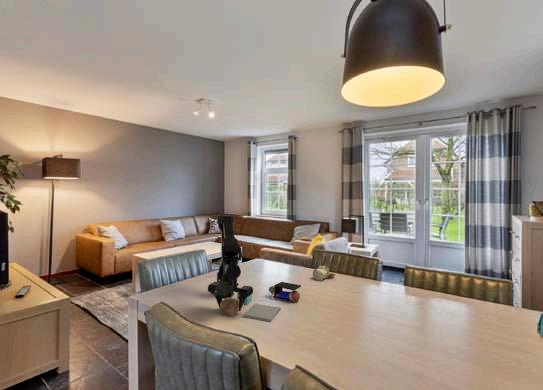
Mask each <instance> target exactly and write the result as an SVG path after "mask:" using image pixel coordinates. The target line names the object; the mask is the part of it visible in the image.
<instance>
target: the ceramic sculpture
mask: <svg viewBox="0 0 543 390" xmlns="http://www.w3.org/2000/svg"><path fill="white" fill-rule="evenodd" d="M335 275H336V273H332V272H330V269H329V268H328V267H327V266H325V265H324V264H322V263H321V265H319V266H318V267H317V268H315V269H313V271H312V277H313V279H314V280H316V281H318V282H321V281H323V280H325V279H328V278H334V277H335Z"/></svg>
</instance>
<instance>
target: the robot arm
mask: <svg viewBox="0 0 543 390" xmlns="http://www.w3.org/2000/svg"><path fill="white" fill-rule="evenodd" d="M235 218H236V217H235V216H234V215H232V214H219V215H218V216H216V224H217V228H218V230H219V231H220V235H221V236H220V237H221V239H220V240H221V242H220V243H221V245H220V246H221V247H220V253H221V254H220V255H221V263H220V265H219V267H218V268H217V269H218V271H217V272H216V281H213V282H211V283H210V284H209V285H207V292H208V293H210V294H211V295H213V296H214V297H215V299H216V303H217V305H218V307H219V309H220V302H222V301H223V299H226V298H227V297H228V298H232V296H234V295H235V293H239V295H240V296H239V297H238V298H239V312H241V311H242V308H243V306H244V305H243V304H244V302H245V299H246V298H247V297H249V296H250V295H251V294H252V295H253V294H254V288H253V287H252V286H251V285H250V286H249V285H242V286H241V287H238V286H239V283H238V279H239V278H240V276H241V272H242V270H241V268H240V265H239V264H238V261H242V258H243V252H242V251H243V250H242V247H241V245H240V244H239V241H238V239H237V237H235V231H234V225H235V220H236V219H235Z"/></svg>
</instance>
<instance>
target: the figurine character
mask: <svg viewBox="0 0 543 390" xmlns="http://www.w3.org/2000/svg"><path fill="white" fill-rule="evenodd" d="M301 287H302V285H300V284H296V283H290V282H285V281H280V282H278V283H276V284H274V285H271V286H269V287H268V292H269V294H271V295H274V296H273V298H275V299H276V298H282V299H287V300H288V299H289V300H290V301H291V302H293V303H297V302H298V301H300V297H301V294H300V293H299V291H297V290H298V289H299V288H301ZM284 290H285V291H284ZM287 290H291V291H287Z"/></svg>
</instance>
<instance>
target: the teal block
mask: <svg viewBox="0 0 543 390" xmlns="http://www.w3.org/2000/svg"><path fill="white" fill-rule="evenodd" d="M239 296H240V295H239V293H238V292H236V299H239V298H238V297H239ZM252 297H253V293H252V294H251V295H250V296H249V297H247V298H246V299H245V302H244V304H243V306H248V305H250V303H251V302H252V300H253V298H252Z"/></svg>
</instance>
